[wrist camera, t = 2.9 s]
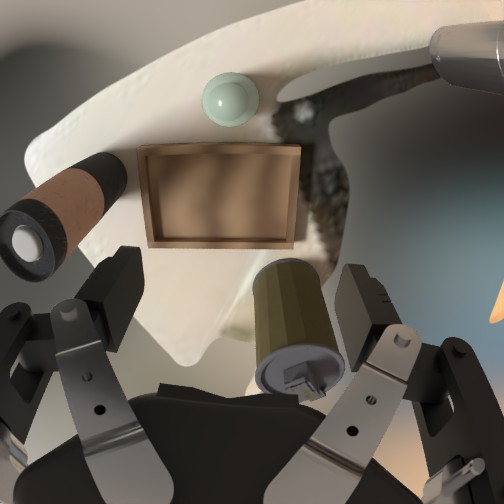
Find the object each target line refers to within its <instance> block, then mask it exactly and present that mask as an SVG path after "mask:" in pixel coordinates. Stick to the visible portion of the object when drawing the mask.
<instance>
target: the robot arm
mask: <svg viewBox="0 0 504 504" xmlns="http://www.w3.org/2000/svg"><path fill="white" fill-rule="evenodd" d="M430 55H431V60H432V63H433V65H434V67H435V69H436V71H437V73H438V74H439V75H440V76H441V78H442V79H444V80H445V81H446V82H447V83H449V84H451V85H453V86H456V87H463V88H469V89H475V90H480V91H485V92H490V93H495V94H501V95H504V21H489V22H478V23H469V24H460V25H452V26H446V27H442V28H440V29H438V30H437V31H436V32H435V33H434V35H433V36H432V39H431V42H430ZM144 284H145V282H144V272H143V264H142V255H141V250H140V248H139V247H132V246H120V247H119V249H118V250H117V252H116V253H115V254H114V256H113V257H107V258H106V259H104V260H103V261H101V262H100V263H99V264H98V265H97V266H96V268H95V269H94V271H93V272H92V273H91V275H90V276H89V279H87V280H86V282H85V283H84V284H83V286H82V287H81V289H80V290H79V292H78V293H77V294H76V296H75V297H74V298H71V299H66V300H63V301H61V302H59V303H57V304H56V305H55V306H54V307H53V308H52V310H51V312H50V313H44V314H32V311H31V308H30V307H29V305H28V304H26V303H22V302H17V303H13V304H11V305H9V306H7V307H5V308H4V309H3V310H2V311H1V313H0V503H3V504H504V416H503V414H502V411H501V409H500V407H499V404H498V402H497V399H496V397H495V395H494V393H493V390H492V388H491V386H490V384H489V382H488V380H487V377H486V375H485V373H484V371H483V369H482V367H481V365H480V363H479V361H478V359H477V357H476V355H475V353H474V351H473V349H472V347H471V346H470V345H469V344H468V343H467V342H465V341H464V340H462V339H460V338H456V337H449V338H446V339H445V340H444V341H443V343H442V345H441V347H439V346H434V345H430V344H425V343H422V341H421V338H420V336H419V334H418V333H417V332H416V331H415V330H414V329H412V328H410V327H408V326H406V325H403V324H402V322H401V320H400V318H399V316H398V314H397V312H396V310H395V308H394V306H393V304H392V303H391V300H390V298H389V296H388V294H387V292H386V290H385V288H384V286H383V285H382V284H381V283H380V282H379V281H378V280H377V279H376V278H370V276H369V274H368V272H367V270H366V268H365V266H364V265H357V264H345V265H344V267H343V270H342V274H341V278H340V281H339V285H338V289H337V293H336V297H335V311H336V315H337V319H338V323H339V326H340V330H341V333H342V337H343V341H344V344H345V348H346V352H347V356H348V360H349V364H350V368H351V372H357V373H356V375H355V376H354V378H353V379H352V381H351V382H350V384H349V386H348V387H347V389H346V390H345V391H344V393H343V394H342V396H341V397H340V398H339V400H338V401H337V403H336V404H335V405H334V407H333V408H332V410H331V411H330V412H329V414H328V415H327V416H326V415H324V414H323V413H321V412H319V411H318V410H315V409H313V408H311V407H308V406H304V405H301V404H299V398H298V394H271V393H263V394H256V395H250V396H243V397H236V398H225V397H221V396H218V395H215V394H212V393H209V392H205V391H202V390H199V389H196V388H193V387H186V386H178V385H170V384H163V383H160V385H159V388H158V392H157V393H150V394H144V395H140V396H137V397H135V398H132V399H130V400H127V398H126V396H125V394H124V392H123V390H122V388H121V386H120V384H119V381H118V379H117V377H116V375H115V372H114V370H113V368H112V366H111V363H110V361H109V359H108V356H107V354H106V351H109V352H115V353H117V351H118V348H119V346H120V343H121V342H122V339H123V337H124V335H125V332H126V330H127V328H128V326H129V323H130V321H131V319H132V317H133V315H134V312H135V310H136V308H137V306H138V304H139V302H140V300H141V297H142V295H143V292H144ZM16 358H18V359H19V363H18V365H17V367H16V368H15V370H14V372H13V374H12V376H11V378H10V370H11V367H12V365H13V364H14V362H15V360H16ZM54 371H59V374H60V377H61V381H62V385H63V388H64V392H65V395H66V398H67V402H68V405H69V408H70V411H71V415H72V418H73V421H74V423H75V427H76V429H77V432H78V434H77V435H75V436H74V437H72V438H71V439H69V440H67V441H66V442H64V443H63V444H61V445H60V446H58V447H57V448H55V449H54V450H52V451H50V452H49V453H47V454H46V455H44V456H43V457H41V458H39V459H38V460H36V461H35V462H33V463H31V464H30V465H29V466H28V464H27V459H28V458H27V457H28V456H27V451H26V449H25V447H24V443H25V441H26V438H27V435H28V432H29V430H30V427H31V424H32V422H33V419H34V416H35V414H36V411H37V409H38V406H39V404H40V401H41V399H42V397H43V394H44V392H45V389H46V387H47V385H48V383H49V380H50V378H51V376H52V373H53V372H54ZM448 395H450V396H451V399H452V402H453V405H454V413H453V410H452V407H451V404H450V402H449V399H448ZM402 399H406V400H411V401H412V405H413V409H414V412H415V416H416V420H417V424H418V428H419V432H420V436H421V440H422V444H423V449H424V453H425V458H426V462H427V467H428V472H429V477H430V478H429V479H428V480H427V482H426V483H425V485H424V489H423V497H422V499H421V500H420V499H419V498H418V497H417V496H416V495H415V494H414V493H413V492H412V491H410V490H409V489H408V488H407V487H406V486H404V485H403V484H402V483H401V482H400V481H399V480H397V479H396V478H395V477H394V476H393V475H392V474H391V473H389V472H388V471H387V470H386V469H385V468H384V467H383V466H381V465H380V464H379V463H378V462H377V461H376V460H375V459H374V458H372V456H373V454H374V453H375V451H376V449H377V447H378V445H379V444H380V442H381V440H382V438H383V436H384V434H385V432H386V430H387V428H388V426H389V424H390V422H391V420H392V418H393V416H394V414H395V412H396V410H397V408H398V406H399V404H400V402H401V400H402Z"/></svg>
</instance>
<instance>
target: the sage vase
mask: <svg viewBox="0 0 504 504" xmlns="http://www.w3.org/2000/svg"><path fill="white" fill-rule="evenodd" d="M258 105H259V93H258V90H257V88H256V86H255V84H254V83H253V82H252V81H251V80H250V79H249V78H247V77H246V76H244V75H242V74H239V73H232V72H229V73H223V74H220V75H218V76H216V77H214V78H213V79H212V80H210V81H209V82H208V84H207V85H206V87H205V88H204V91H203V94H202V106H203V109H204V111H205V113H206V115H207V116H208V117H209V118H210V119H211V120H212V121H213V122H215V123H217V124H219V125H222V126H226V127H234V126H239V125H242V124H244V123H245V122H247V121H248V120H250V119H251V118H252V117H253V115H254V114H255V113H256V111H257V108H258Z"/></svg>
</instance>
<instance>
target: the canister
mask: <svg viewBox="0 0 504 504" xmlns="http://www.w3.org/2000/svg"><path fill="white" fill-rule="evenodd" d="M253 295H254V307H255V335H256V363H257V369H256V371H255V381H256V384H257V386H258V388H259V389H261V390H262V391H263V392H264V393H271V394H298V398H299V403H300V402H303V401H306V400H308V399H309V400H310V401H314V400H317V399H319V398H322V397H325V396H326V393H325V392H327V391H328V390H330V389H331V388H332V387H334V386H335V385H336V384H337V383H338V382H339V381H340V379H341V378H342V377H343V374H344V371H345V362H344V359H343V357H342V355H341V354H340V353H339V350H338V346H337V343H336V339H335V335H334V332H333V328H332V325H331V321H330V318H329V314H328V311H327V307H326V304H325V301H324V297H323V294H322V291H321V287H320V280H319V277H318V274H317V273H316V271H315V270H314V269H313V267H311V266H310V265H309V264H307V263H305V262H302V261H300V260H297V259H282V260H278V261H275V262H272V263H270V264H269V265H267V266H265V267H264V268H262V270H261V271H260V272H259V273H258V274H257V275H256V277H255V279H254V282H253Z"/></svg>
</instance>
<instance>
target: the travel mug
mask: <svg viewBox="0 0 504 504" xmlns="http://www.w3.org/2000/svg"><path fill="white" fill-rule="evenodd" d="M126 183H127V174H126V170H125V167H124V165H123V164H122V162H121V161H120V160H119V159H118V158H117V157H115V156H114V155H112V154H109V153H97V154H94V155H92V156H90V157H88V158H86V159H84V160H82V161H80V162H78V163H76V164H74V165H73V166H71V167H69V168H67V169H65V170H63V171H61V172H60V173H58V174H57V175H55V176H54V177H52V178H51V179H49V180H48V181H46V182H45V183H43V184H42V185H40V186H39V187H37V188H36V189H34V190H33V191H32V192H30V193H29V194H28V195H26V196H25V197H23V198H22V199H20V200H19V201H18V202H16V203H15V204H14V205H12V206H11V207H10V208H8V209H7V210H6V211H5V212H3V213H2V214H1V215H0V257H1V259H2V260H3V262H4V263H5V265H6V266H7V267H8V268H9V269H10V271H11V272H13V273H14V274H15V275H16V276H18V277H19V278H21V279H22V280H25V281H27V282H30V283H41V282H44V281H46V280H48V279H49V278H50V277H51V276H52V275H53V274H54V272H55V271H56V270H57V269H58V268H59V266H60V265H61V264H62V263H63V261H64V260H65V259H66V258H67V257H68V256H69V255H70V253H71V252H72V251H73V250H74V249H75V247H76V246H77V245H78V244H79V243H80V242H81V241H82V240H83V238H84V237H85V236H86V235H87V234H88V233H89V232H90V231H91V230H92V229H93V227H94V226H95V225H96V224H97V223H98V222H99V221H100V220H101V218H102V217H103V216H104V215H105V213H106V212H107V211H108V210H109V209H110V207H111V206H112V205H113V204H114V203H115V202H116V200H117V199H118V198H119V197H120V196H121V194H122V193H123V191H124V189H125V187H126Z"/></svg>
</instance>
